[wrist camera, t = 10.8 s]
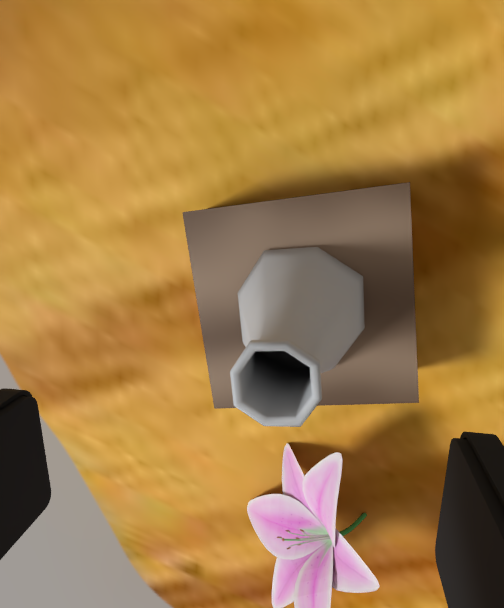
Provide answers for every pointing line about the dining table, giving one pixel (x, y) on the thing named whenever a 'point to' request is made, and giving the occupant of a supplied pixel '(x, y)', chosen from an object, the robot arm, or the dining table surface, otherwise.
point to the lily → (308, 536)
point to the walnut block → (339, 244)
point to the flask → (293, 332)
